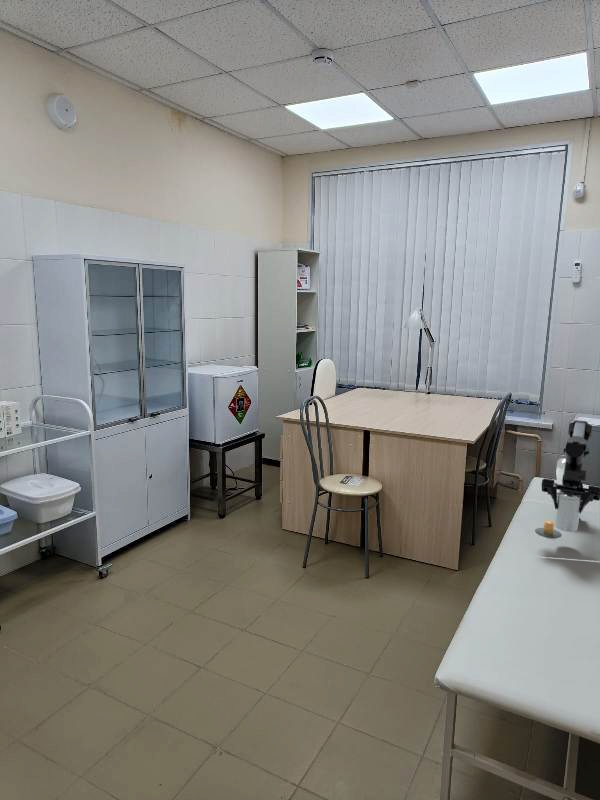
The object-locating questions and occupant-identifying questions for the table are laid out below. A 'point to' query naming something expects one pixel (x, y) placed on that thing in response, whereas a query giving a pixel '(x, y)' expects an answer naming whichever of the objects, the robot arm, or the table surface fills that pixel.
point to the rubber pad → (541, 532)
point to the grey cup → (568, 511)
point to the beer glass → (560, 471)
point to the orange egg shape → (548, 527)
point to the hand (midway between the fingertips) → (567, 510)
